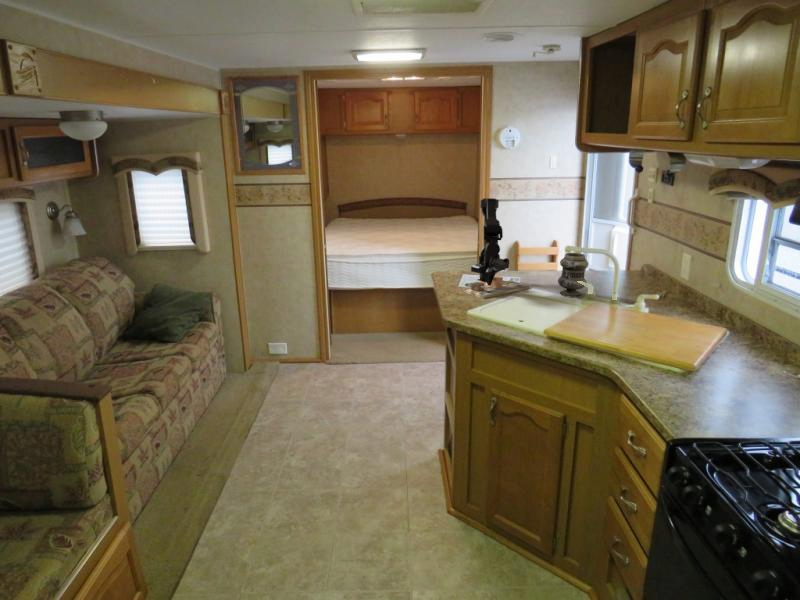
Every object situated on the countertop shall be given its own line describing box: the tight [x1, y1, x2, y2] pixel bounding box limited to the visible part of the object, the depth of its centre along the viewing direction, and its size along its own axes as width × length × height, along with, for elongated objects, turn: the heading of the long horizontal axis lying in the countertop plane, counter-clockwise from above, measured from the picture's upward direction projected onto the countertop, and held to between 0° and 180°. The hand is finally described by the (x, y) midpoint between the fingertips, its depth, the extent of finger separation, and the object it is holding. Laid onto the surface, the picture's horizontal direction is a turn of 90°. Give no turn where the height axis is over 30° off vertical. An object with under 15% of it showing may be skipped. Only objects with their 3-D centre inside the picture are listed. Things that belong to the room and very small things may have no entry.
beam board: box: [464, 280, 531, 299], centre depth 248 cm, size 12×30×2 cm, turn 127°
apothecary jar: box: [557, 252, 589, 298], centre depth 239 cm, size 12×12×18 cm
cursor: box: [490, 275, 509, 287], centre depth 248 cm, size 10×4×4 cm, turn 37°
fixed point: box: [470, 281, 490, 292], centre depth 242 cm, size 10×4×3 cm, turn 37°
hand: (489, 285), depth 248 cm, fingers closed
